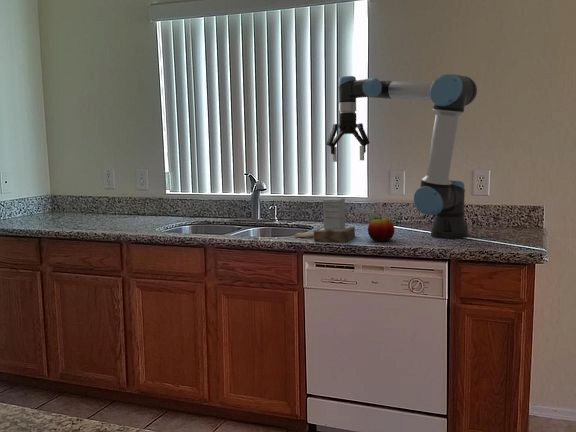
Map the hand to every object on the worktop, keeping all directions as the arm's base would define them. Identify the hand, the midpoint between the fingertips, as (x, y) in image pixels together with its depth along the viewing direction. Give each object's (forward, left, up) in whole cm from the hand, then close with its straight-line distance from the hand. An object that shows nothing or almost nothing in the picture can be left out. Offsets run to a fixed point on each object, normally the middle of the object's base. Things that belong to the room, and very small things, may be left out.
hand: (348, 161), depth 245 cm
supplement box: (-13, +14, -28) cm, 34 cm away
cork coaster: (-1, +22, -32) cm, 39 cm away
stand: (-13, +14, -32) cm, 37 cm away
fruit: (-27, 0, -32) cm, 42 cm away
